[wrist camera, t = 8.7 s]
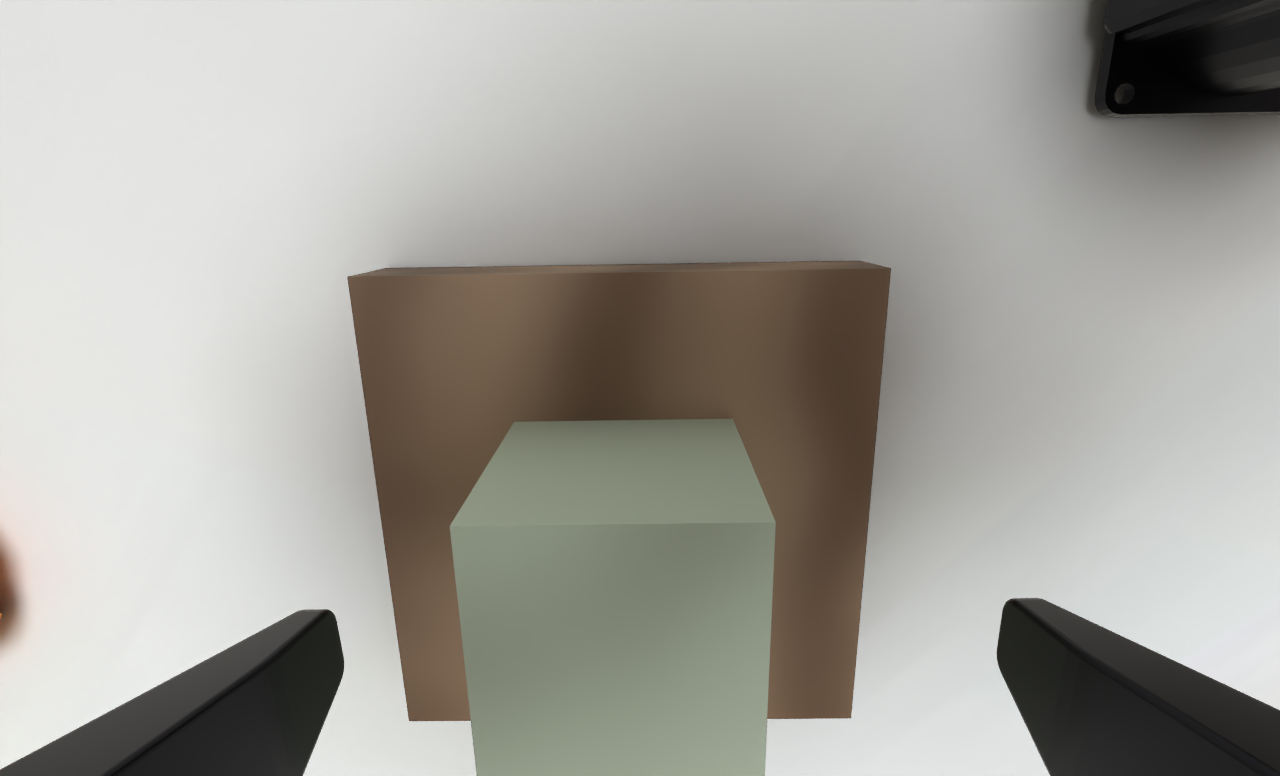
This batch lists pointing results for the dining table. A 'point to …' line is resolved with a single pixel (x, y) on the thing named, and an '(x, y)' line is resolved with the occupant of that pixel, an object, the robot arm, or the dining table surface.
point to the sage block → (617, 601)
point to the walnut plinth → (630, 390)
